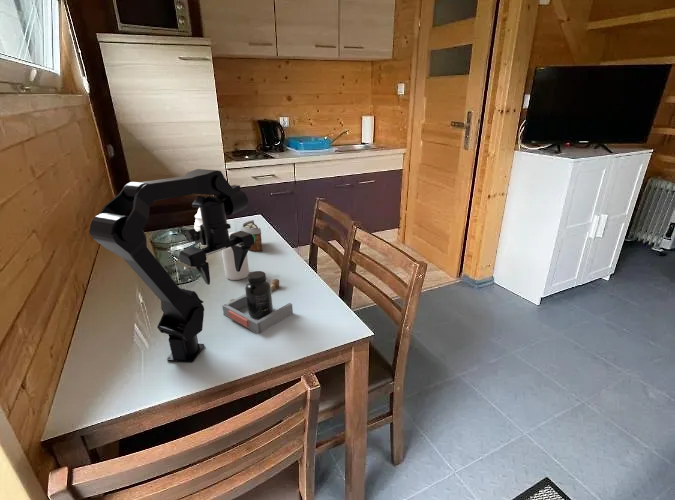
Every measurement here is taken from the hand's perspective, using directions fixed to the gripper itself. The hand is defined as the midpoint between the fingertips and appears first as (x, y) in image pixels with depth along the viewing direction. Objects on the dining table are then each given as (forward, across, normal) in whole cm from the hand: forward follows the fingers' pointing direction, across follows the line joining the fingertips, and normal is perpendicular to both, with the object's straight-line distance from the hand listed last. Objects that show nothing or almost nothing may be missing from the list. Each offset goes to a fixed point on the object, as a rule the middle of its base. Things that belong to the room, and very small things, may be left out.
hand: (223, 277), depth 98 cm
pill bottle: (+13, -18, -22) cm, 31 cm away
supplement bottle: (+13, -8, +4) cm, 16 cm away
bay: (+13, -7, +4) cm, 15 cm away
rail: (+13, -12, -4) cm, 19 cm away
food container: (+13, -37, -37) cm, 54 cm away
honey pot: (+13, -32, -59) cm, 68 cm away
